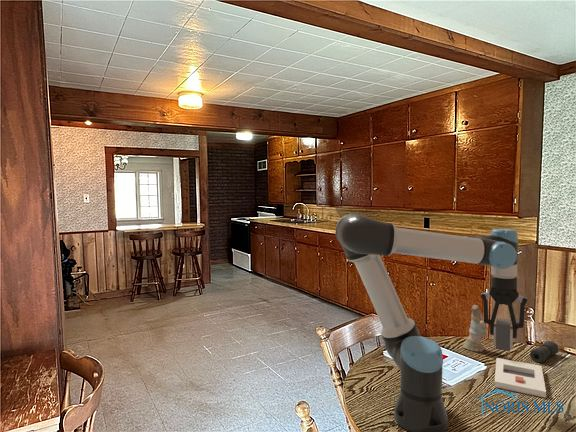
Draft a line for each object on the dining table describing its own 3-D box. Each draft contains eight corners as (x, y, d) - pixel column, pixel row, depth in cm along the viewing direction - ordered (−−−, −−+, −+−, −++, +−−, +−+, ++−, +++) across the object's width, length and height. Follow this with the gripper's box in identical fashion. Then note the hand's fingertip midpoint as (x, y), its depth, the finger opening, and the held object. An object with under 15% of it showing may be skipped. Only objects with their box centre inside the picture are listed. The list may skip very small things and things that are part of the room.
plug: (509, 351, 125) (510, 325, 124) (495, 348, 127) (496, 323, 126) (510, 343, 131) (510, 318, 131) (496, 341, 133) (497, 316, 133)
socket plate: (545, 397, 128) (546, 389, 127) (494, 386, 135) (494, 379, 135) (541, 371, 147) (541, 363, 146) (496, 362, 154) (496, 355, 154)
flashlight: (543, 365, 152) (543, 351, 152) (528, 360, 156) (528, 347, 156) (559, 355, 161) (559, 342, 161) (544, 351, 165) (544, 338, 165)
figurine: (472, 353, 163) (473, 306, 162) (459, 346, 171) (460, 301, 170) (490, 351, 165) (491, 305, 163) (477, 344, 173) (478, 299, 172)
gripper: (534, 276, 126) (533, 346, 127) (476, 271, 135) (475, 337, 136) (535, 280, 119) (533, 355, 121) (474, 275, 128) (473, 345, 129)
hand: (503, 345), depth 128 cm, fingers closed on plug, 4 cm apart
